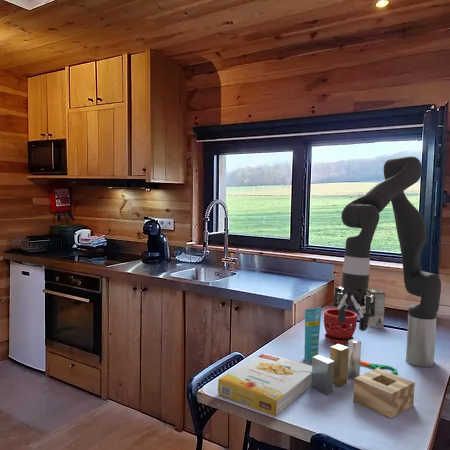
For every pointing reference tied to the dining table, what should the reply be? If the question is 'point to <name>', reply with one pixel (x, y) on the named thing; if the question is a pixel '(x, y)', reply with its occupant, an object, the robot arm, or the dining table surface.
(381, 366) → the magnifying glass
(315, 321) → the tube
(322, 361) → the brushed grey-blue block
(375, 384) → the socket block
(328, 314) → the plant pot
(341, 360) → the square bit
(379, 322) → the coffee box
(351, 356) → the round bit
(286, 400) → the cereal box
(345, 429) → the dining table surface
